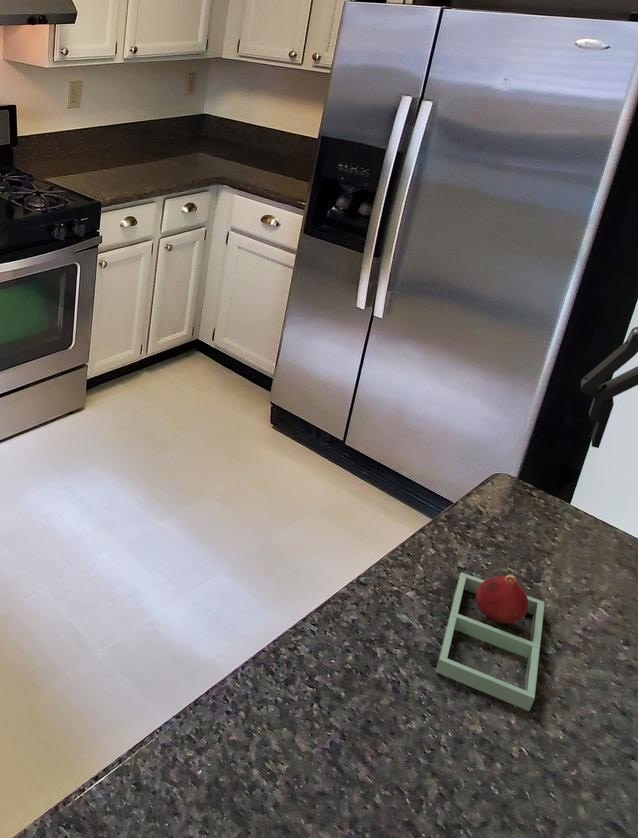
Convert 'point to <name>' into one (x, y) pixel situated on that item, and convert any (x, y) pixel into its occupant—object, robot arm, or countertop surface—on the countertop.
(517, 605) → the onion
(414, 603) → the countertop surface
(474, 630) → the holder
